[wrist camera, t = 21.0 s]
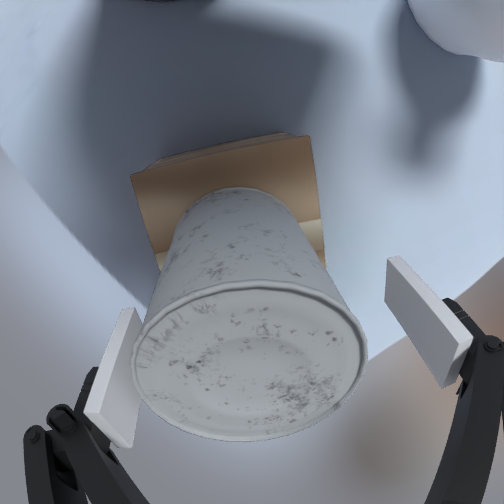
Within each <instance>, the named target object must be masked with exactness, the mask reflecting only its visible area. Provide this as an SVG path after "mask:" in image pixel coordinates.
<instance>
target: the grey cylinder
mask: <svg viewBox="0 0 504 504" xmlns="http://www.w3.org/2000/svg"><path fill="white" fill-rule="evenodd" d="M367 361H368V350H367V339H366V337H365V334H364V332H363V330H362V327H361V325H360V323H359V321H358V320H357V318H356V317H355V316H354V315H353V314H352V313H351V312H350V310H349V308H348V307H347V305H346V303H345V301H344V300H343V298H342V296H341V294H340V293H339V291H338V289H337V288H336V286H335V284H334V282H333V281H332V279H331V277H330V276H329V274H328V272H327V271H326V269H325V267H324V266H323V264H322V262H321V261H320V259H319V257H318V256H317V254H316V252H315V251H314V249H313V247H312V246H311V244H310V243H309V241H308V239H307V238H306V236H305V234H304V233H303V231H302V230H301V228H300V226H299V224H298V222H297V220H296V218H295V216H294V214H293V213H292V212H291V211H290V210H289V209H288V207H287V206H286V205H285V204H284V203H283V202H281V201H280V200H278V199H277V198H275V197H274V196H272V195H271V194H268V193H266V192H263V191H261V190H258V189H253V188H246V187H232V188H223V189H220V190H217V191H214V192H211V193H209V194H207V195H205V196H203V197H202V198H200V199H198V200H197V201H195V202H194V203H193V204H192V205H191V206H190V207H189V208H188V209H187V210H186V211H185V212H184V214H183V216H182V217H181V219H180V220H179V222H178V224H177V226H176V229H175V232H174V235H173V240H172V243H171V245H170V248H169V251H168V253H167V256H166V259H165V261H164V264H163V267H162V270H161V272H160V275H159V278H158V281H157V284H156V287H155V289H154V292H153V295H152V298H151V301H150V304H149V307H148V310H147V313H146V317H145V319H144V323H143V326H142V329H141V332H140V334H139V335H138V337H137V339H136V340H135V343H134V346H133V351H132V356H131V361H130V366H131V373H132V379H133V383H134V385H135V387H136V389H137V391H138V393H139V395H140V397H141V399H142V400H143V401H144V402H145V403H146V404H147V406H148V407H149V408H150V409H151V410H152V411H153V412H154V413H155V414H157V415H158V416H159V417H161V418H162V419H163V420H165V421H166V422H167V423H169V424H171V425H173V426H175V427H177V428H179V429H181V430H183V431H185V432H188V433H191V434H194V435H197V436H200V437H204V438H209V439H214V440H220V441H230V442H252V441H262V440H270V439H274V438H278V437H283V436H287V435H290V434H293V433H296V432H299V431H301V430H304V429H306V428H309V427H311V426H312V425H314V424H316V423H318V422H320V421H321V420H323V419H325V418H327V417H328V416H329V415H331V414H332V413H333V412H335V411H336V410H337V409H338V408H340V407H341V406H342V405H343V404H344V403H345V402H346V401H347V400H348V398H349V397H350V396H351V395H352V394H353V393H354V392H355V390H356V388H357V386H358V385H359V383H360V381H361V379H362V377H363V376H364V371H365V368H366V364H367Z"/></svg>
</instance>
